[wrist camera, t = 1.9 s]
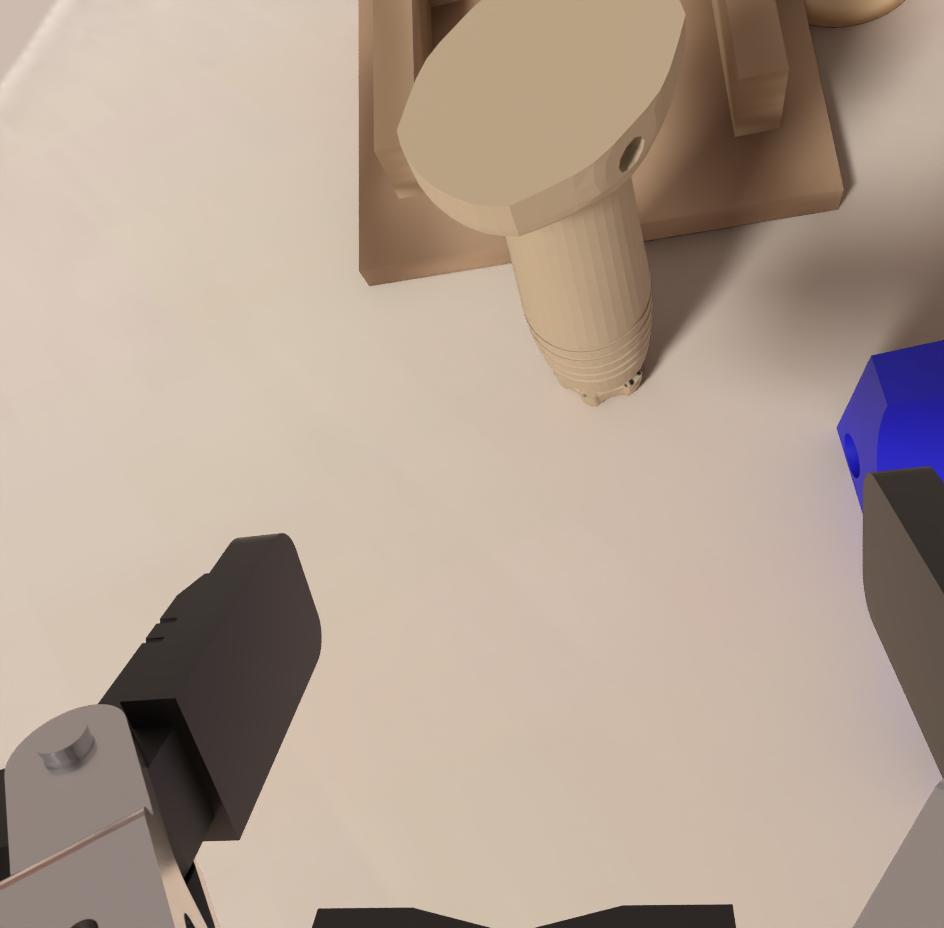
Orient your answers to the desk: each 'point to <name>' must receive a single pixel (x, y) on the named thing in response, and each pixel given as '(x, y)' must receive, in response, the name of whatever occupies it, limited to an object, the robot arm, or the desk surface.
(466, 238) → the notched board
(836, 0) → the bobbin
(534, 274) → the handle
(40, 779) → the robot arm
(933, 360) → the cable clip
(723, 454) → the desk surface
